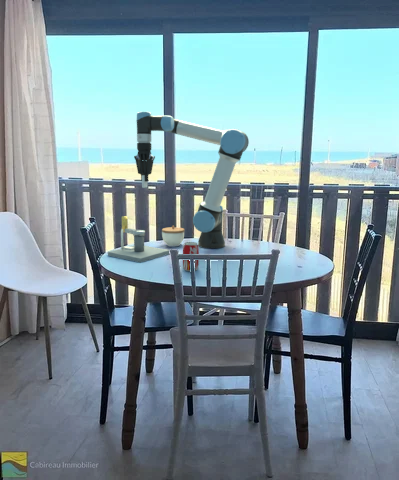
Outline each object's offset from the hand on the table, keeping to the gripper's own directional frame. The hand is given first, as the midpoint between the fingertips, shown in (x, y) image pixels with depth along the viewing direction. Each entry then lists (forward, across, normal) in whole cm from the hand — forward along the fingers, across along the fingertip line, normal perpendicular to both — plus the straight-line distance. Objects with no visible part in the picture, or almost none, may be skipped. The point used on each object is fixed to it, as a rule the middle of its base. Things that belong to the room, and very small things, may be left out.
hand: (144, 187), depth 221 cm
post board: (+32, +11, -17) cm, 38 cm away
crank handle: (+22, +6, -16) cm, 28 cm away
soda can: (+33, +48, -24) cm, 63 cm away
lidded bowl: (+33, +10, +12) cm, 36 cm away
